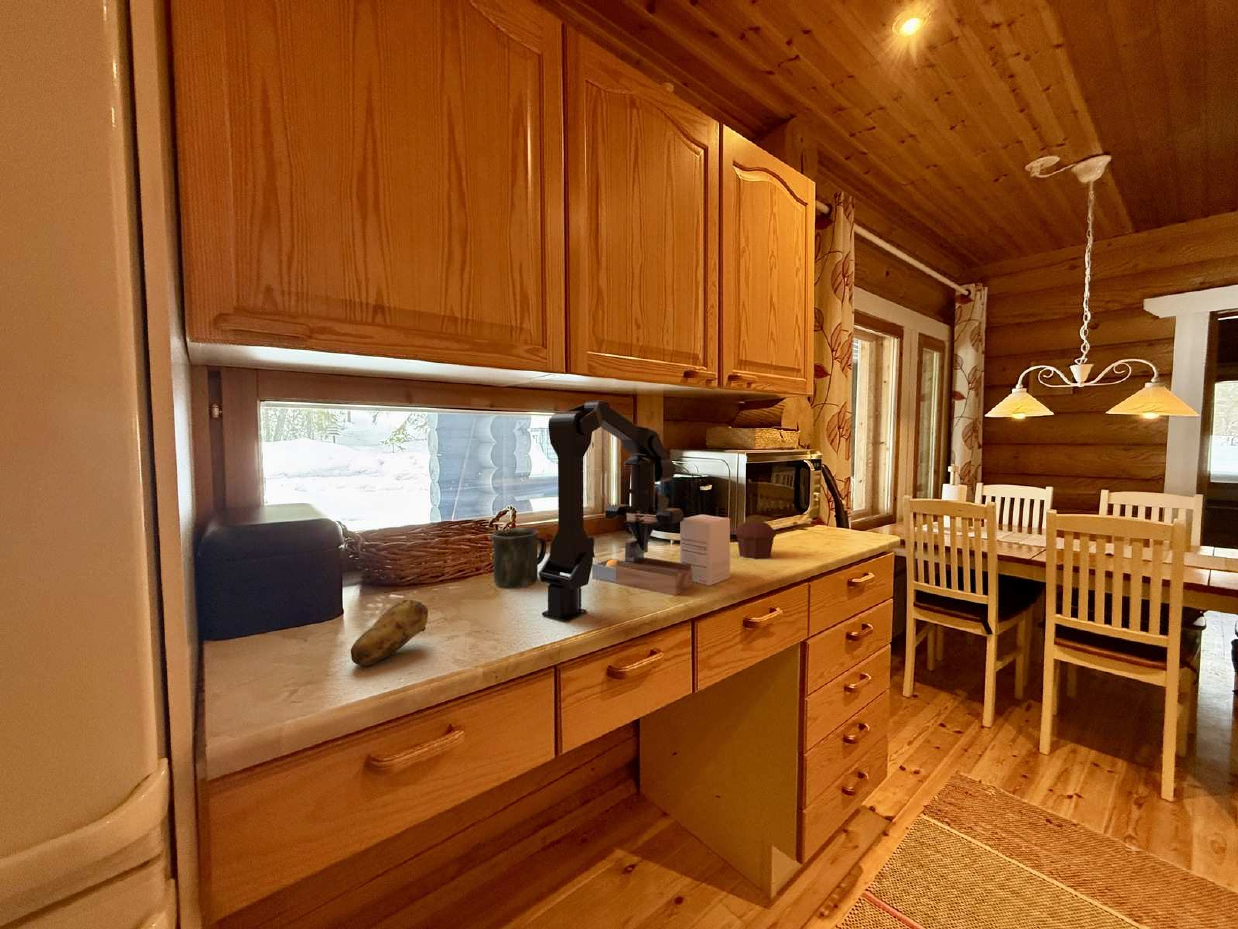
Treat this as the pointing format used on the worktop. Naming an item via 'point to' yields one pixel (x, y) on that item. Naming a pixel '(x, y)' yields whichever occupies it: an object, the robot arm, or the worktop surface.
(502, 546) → the mug
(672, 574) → the launcher track
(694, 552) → the supplement box
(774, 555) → the worktop surface
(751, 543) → the muffin
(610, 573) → the flat blue-grey box
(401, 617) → the potato
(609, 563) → the ball
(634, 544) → the dark grey upright block
